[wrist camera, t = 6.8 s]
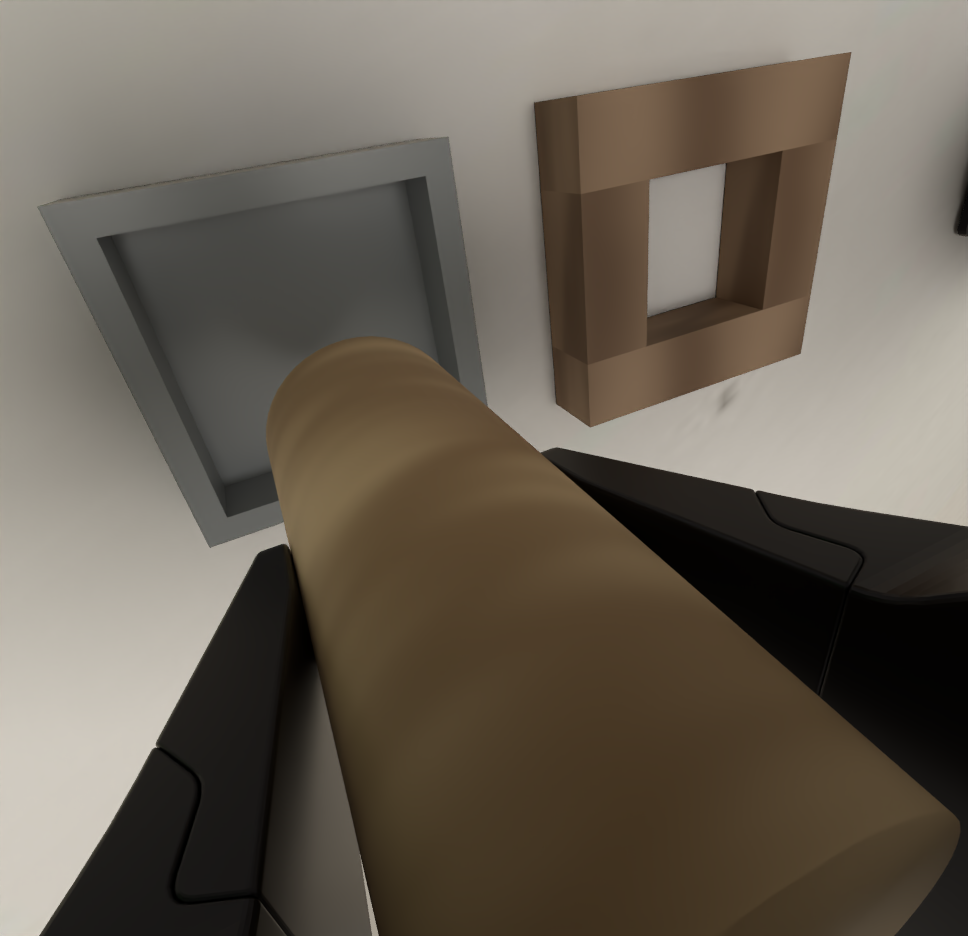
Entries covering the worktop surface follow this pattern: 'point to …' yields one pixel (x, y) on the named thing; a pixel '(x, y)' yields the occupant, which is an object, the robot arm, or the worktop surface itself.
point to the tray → (266, 297)
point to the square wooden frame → (625, 223)
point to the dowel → (559, 695)
